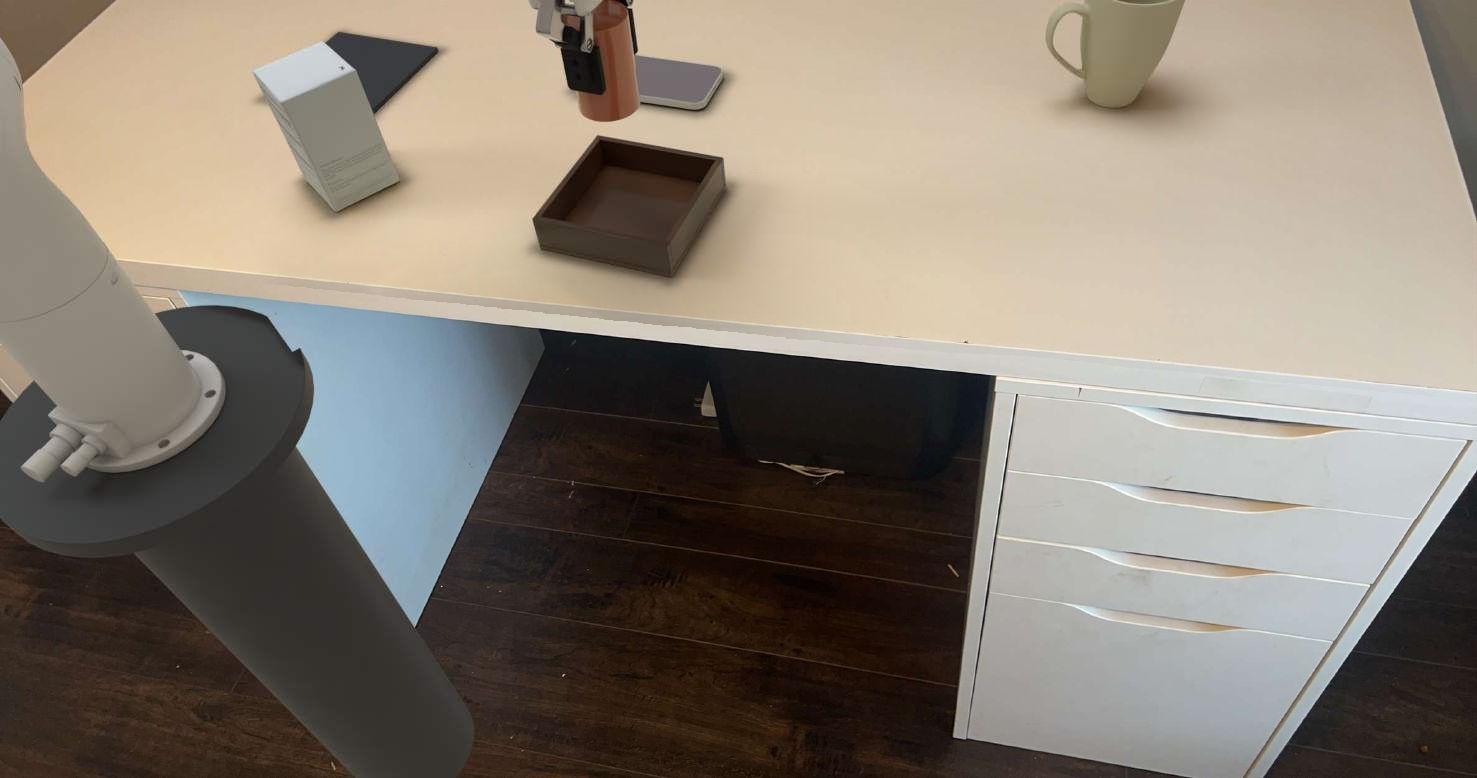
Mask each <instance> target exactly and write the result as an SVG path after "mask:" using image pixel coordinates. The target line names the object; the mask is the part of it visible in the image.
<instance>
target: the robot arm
mask: <svg viewBox="0 0 1477 778" xmlns="http://www.w3.org/2000/svg"><path fill="white" fill-rule="evenodd" d="M568 1H569V2H570V3H567V2H566V0H528V3H529V6H530V7H531V8H532V9H533V10H537V14H536V21H535V32H536V34H537V35H539V36H541V37H544V38H546V39H548V40H549V41H551V42H552V43H554V46H555V47H556V48H557V49H559V50H560V54H561V59H562V65H563V70H564V74H565V80H566V85H567V87H568V89H569V90H571V91H575V92H576V91H579V92H585V93H591V94H596V95H602V94H603V93H604V92H605V91H606V84H605V78H604V72H603V66H602V60H601V54H600V48H599V46H594V45H593V9H595V8H596V7H597V6H598V5H599V4H600V3H601V2H602V1H603V0H568ZM615 1H618V2H620V3H622V4H623V5H625V6H626V8H627V10H628V15H629V22H630V29H631V36H632V43H633V51H634V56H635V55H637V53H638V52H639V46H638V38H637V32H636V24H635V17H634V10H633V8H632V6H633V4H634V1H635V0H615ZM567 15H569V16H575V17H579V21H580V32H579V31H578V30H576V29H575V28H573V27H572V26H568V24H567ZM24 95H25V94H24V87H23V81H22V77H21V72H20V70H19V67H18V65H17V62H16V60H15V58H14V56H13V55H12V53H11V51H10V50H9V48H8V46H7V45H6V43H5V42H4V41H3V39H2V38H1V37H0V345H1V346H3V348H4V349H5V350H6V352H8V354H10V356H11V357H12V358H13V359H14V360H15V361H16V362H17V363H18V364H19V366H20V367H21V368H22V369H23V370H24V372H26V373H27V374H28V375H29V377H30V378H31V379H32V381H35V382H36V383H37V384H38V385H39V386H40V388H41V389H42V390H43V391H44V392H45V393H46V394H47V395H48V396H49V397H50V399H51V400H52V401H53V402H54V403H55V404H56V405H57V407H56V408H54V409H53V410H52V411H51V412H50V413H49V414H48V416H49V417H50V418H51V419H52V421H53V422H54V423H55V424H56V425H57V426H56V428H54V429H53V430H52V431H51V432H50V433H49V435H50V437H51V438H52V439H51V440H50V441H49V442H48V443H47V444H46V445H45V446H44V447H42V448H41V449H39V450H38V451H37V452H36V453H35V454H34V455H32V456H31V457H30V458H29V459H28V460H27V461H26V462H25V463H24V464H23V465H22V466H21V469H22V471H24V472H25V473H26V474H27V475H28V476H30V477H31V478H33V479H35V480H37V481H39V482H45V481H46V480H47V479H48V478H49V477H50V476H51V475H52V474H53V473H54V472H55V471H56V470H57V469H58V468H59V467H61V468H62V469H63V470H64V471H65V472H67V473H68V474H70V475H72V476H75V477H77V476H78V475H79V473H80V472H81V471H82V470H83V469H84V468H85V467H88V468H90V469H93V470H97V471H101V472H112V473H117V472H128V471H134V470H138V469H142V468H146V467H149V466H152V465H155V464H157V463H160V462H163V461H165V460H166V459H168V458H170V457H172V456H174V455H176V454H178V453H179V452H181V451H183V450H184V449H186V448H187V447H189V446H190V445H191V444H192V443H194V442H195V441H196V440H197V439H198V438H200V437H201V436H202V435H203V434H204V433H205V432H206V430H207V429H208V428H209V427H210V426H211V425H212V424H213V422H214V421H215V419H216V418H217V416H218V415H219V413H220V411H221V408H222V406H223V404H224V400H225V395H226V385H225V380H224V378H223V376H222V373H221V372H220V371H219V369H218V368H217V366H216V365H215V364H214V363H213V362H212V361H211V360H210V359H209V358H207V357H205V356H203V355H201V354H199V353H195V352H191V351H187V350H180V348H179V347H178V345H177V344H176V343H175V341H174V340H173V338H172V337H171V336H170V334H169V333H168V331H167V330H166V329H165V327H164V326H163V324H162V323H161V322H160V320H159V319H158V317H157V316H156V315H155V313H156V312H155V311H154V310H153V309H152V308H151V306H150V305H149V303H148V301H146V299H145V298H144V296H143V295H142V293H141V292H140V291H139V289H138V288H137V286H136V285H135V283H134V282H133V281H132V279H131V278H130V277H129V275H128V273H126V270H124V269H123V267H122V266H121V264H120V263H119V261H118V260H117V259H116V257H115V255H114V254H113V253H112V252H111V250H110V249H109V247H108V246H107V245H106V243H105V242H104V241H103V239H102V238H101V237H100V235H99V234H98V232H97V231H96V230H95V229H94V227H93V226H92V224H91V223H90V222H89V220H88V219H87V218H86V216H85V215H84V214H83V212H82V211H81V210H80V209H79V208H78V206H77V205H75V203H74V202H73V201H72V199H70V198H69V196H67V194H66V193H64V191H63V190H62V189H61V188H59V186H58V185H56V184H55V183H54V182H53V181H52V180H51V179H50V178H49V176H48V175H47V173H45V172H44V171H43V169H42V168H41V167H40V165H39V164H38V161H36V159H35V158H34V156H33V153H32V151H31V149H30V146H29V143H28V139H27V123H26V118H25V96H24ZM70 454H71V455H70ZM69 455H70V456H69ZM68 456H69V457H68ZM67 457H68V458H67ZM66 458H67V459H66ZM65 459H66V460H65ZM64 460H65V461H64ZM63 461H64V462H63ZM62 462H63V464H62V465H61V463H62Z"/></svg>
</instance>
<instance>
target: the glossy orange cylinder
mask: <svg viewBox="0 0 1477 778" xmlns="http://www.w3.org/2000/svg"><path fill="white" fill-rule="evenodd" d="M567 24H568V26H572V27H573V28H575V29H576V30H578V31H579V32H580V21H579V17H575V16H569V15H567ZM593 45H594V46H599V48H600V54H601V60H602V66H603V72H604V78H605V84H606V91H605V92H604V93H603V94H602V95H596V94H591V93H585V92H579V91H575V95H576V101H577V105H578V110H579V112H580V114H581V115H582V116H583V117H584V118H586V119H588V120H591V121H593V122H599V123H612V122H616V121H621V120H624V119H626V118H628V117H630V116H632V115H633V114H635V113H636V112H637V111H638V110H639V108H640V106H641V102H640V93H639V86H638V79H637V72H636V65H635V58H634V51H633V43H632V36H631V29H630V22H629V15H628V10H627V8H626V6H625V5H623V4H622V3H620V2H618V1H615V0H603V1H602V2H601V3H600V4H599V5H598V6H597V7H596V8H595V9H593Z"/></svg>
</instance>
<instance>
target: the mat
mask: <svg viewBox="0 0 1477 778" xmlns="http://www.w3.org/2000/svg"><path fill="white" fill-rule="evenodd" d="M324 43H325V44H326V45H328V46H329V47H330V48H331V49H332V50H333V51H334V52H335V53H337V54H338V55H339V56H340V57H341V58H342V59H343V60H344V61H346V62H347V63H348V64H349V65H350V66H351V67H353V68H354V69H355V70H356V71H357V74H358V76H359V79H360V81H361V84H362V86H363V89H364V91H365V94H366V96H367V99H368V101H369V104H370V106H371V109H372V111H373V114H374V115H375V113H376V112H377V111H378V110H380V108H381V107H382V106H383V105H384V104H385V103H387V101H388V100H390V99H391V98H392V97H393V95H395V94H396V93H397V92H398V91H399V90H400V89H401V88H402V87H403V86H404V85H405V84H406V83H407V82H408V81H409V80H411V78H412V77H414V75H416V73H417V72H419V71H420V70H421V68H422V67H424V66H425V65H426V64H427V63H428V62H429V61H430V60H431V59H432V58H433V57H434V56H435V55H436V54H437V53H439V48H438V47H437V46H432V45H424V44H419V43H413V42H406V41H400V40H393V39H387V38H380V37H374V36H368V35H362V34H357V33H349V32H343V31H337V32H336V33H335V34H334V35H333V36H331V37H330V38H329V39H328V40H327V41H325V42H324Z"/></svg>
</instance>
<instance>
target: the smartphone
mask: <svg viewBox="0 0 1477 778" xmlns="http://www.w3.org/2000/svg"><path fill="white" fill-rule="evenodd" d="M634 58H635V65H636V72H637V79H638V86H639V93H640V103H648V104H654V105H660V106H666V107H673V108H681V109H687V110H693V111H695V110H697V111H698V110H701V109H704V108H705V107H706V106H707V105H708V103H709V102H710V100H711V99H712V98H713V97H712V96H713V95H714V94H715V93H716V90H717V88H718V87H719V85H720V83H721V82H722V81H723V78H724V75H723V73H724V72H723V69H722V67H720V66H718V65H711V64H703V63H698V62H690V61H685V60H675V59H670V58H669V59H668V58H662V57H655V56H649V55H640V54H636V55H635V56H634Z"/></svg>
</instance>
